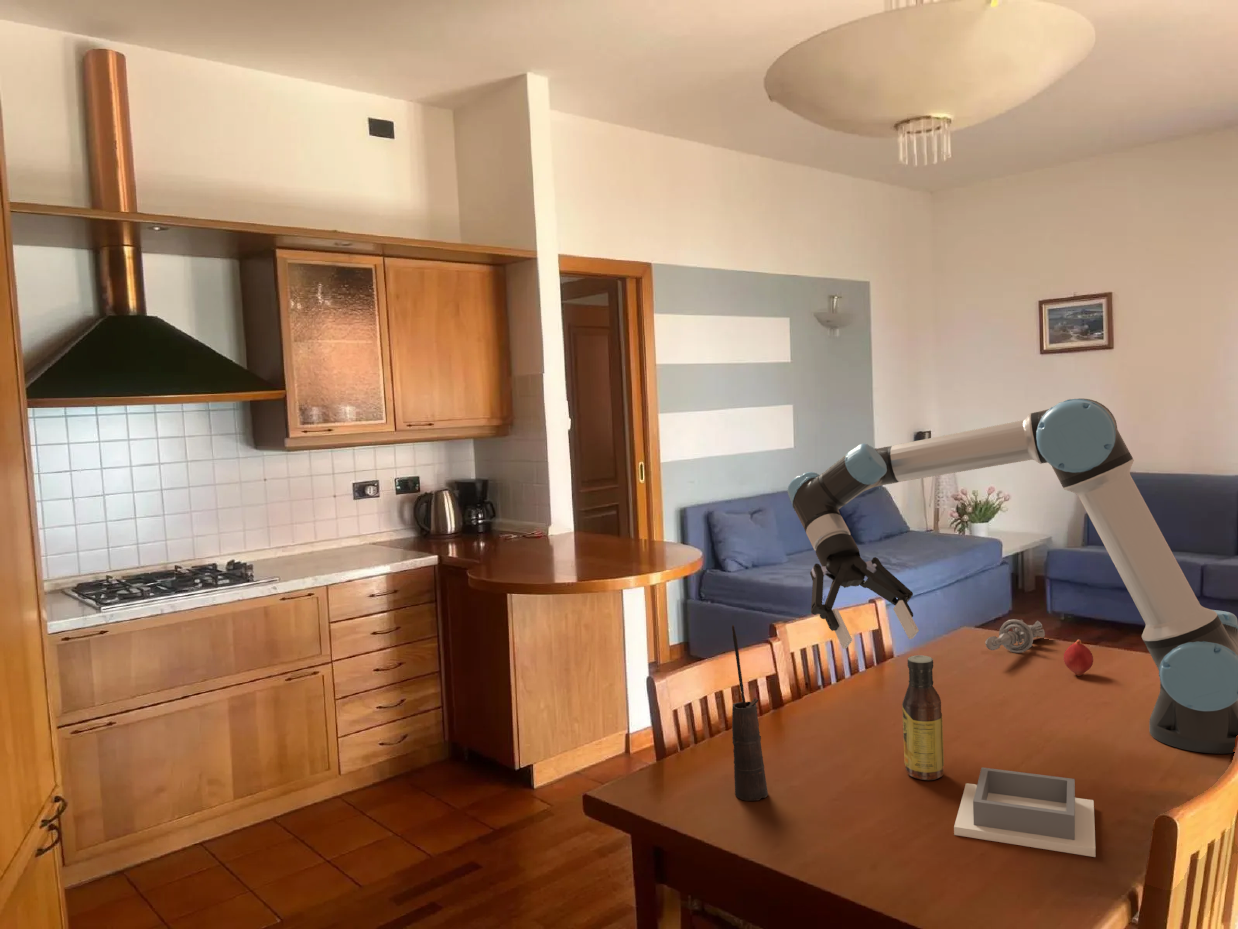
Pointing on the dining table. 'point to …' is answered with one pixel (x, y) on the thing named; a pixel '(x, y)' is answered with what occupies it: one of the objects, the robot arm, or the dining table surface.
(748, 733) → the butter churn
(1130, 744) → the dining table surface
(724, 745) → the dining table surface
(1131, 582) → the robot arm
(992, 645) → the spaceship
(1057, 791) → the bottle stand
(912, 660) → the sauce bottle
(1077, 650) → the onion
